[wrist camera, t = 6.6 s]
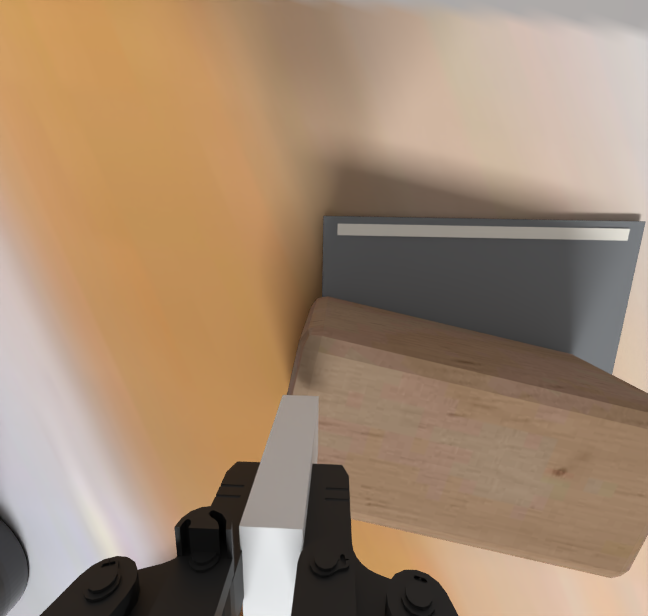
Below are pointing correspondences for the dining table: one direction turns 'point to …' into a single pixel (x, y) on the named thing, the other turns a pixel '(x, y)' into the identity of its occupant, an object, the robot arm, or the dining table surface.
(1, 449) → the dining table surface
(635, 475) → the wooden block
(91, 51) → the dining table surface
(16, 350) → the dining table surface
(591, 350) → the mat
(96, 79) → the dining table surface
